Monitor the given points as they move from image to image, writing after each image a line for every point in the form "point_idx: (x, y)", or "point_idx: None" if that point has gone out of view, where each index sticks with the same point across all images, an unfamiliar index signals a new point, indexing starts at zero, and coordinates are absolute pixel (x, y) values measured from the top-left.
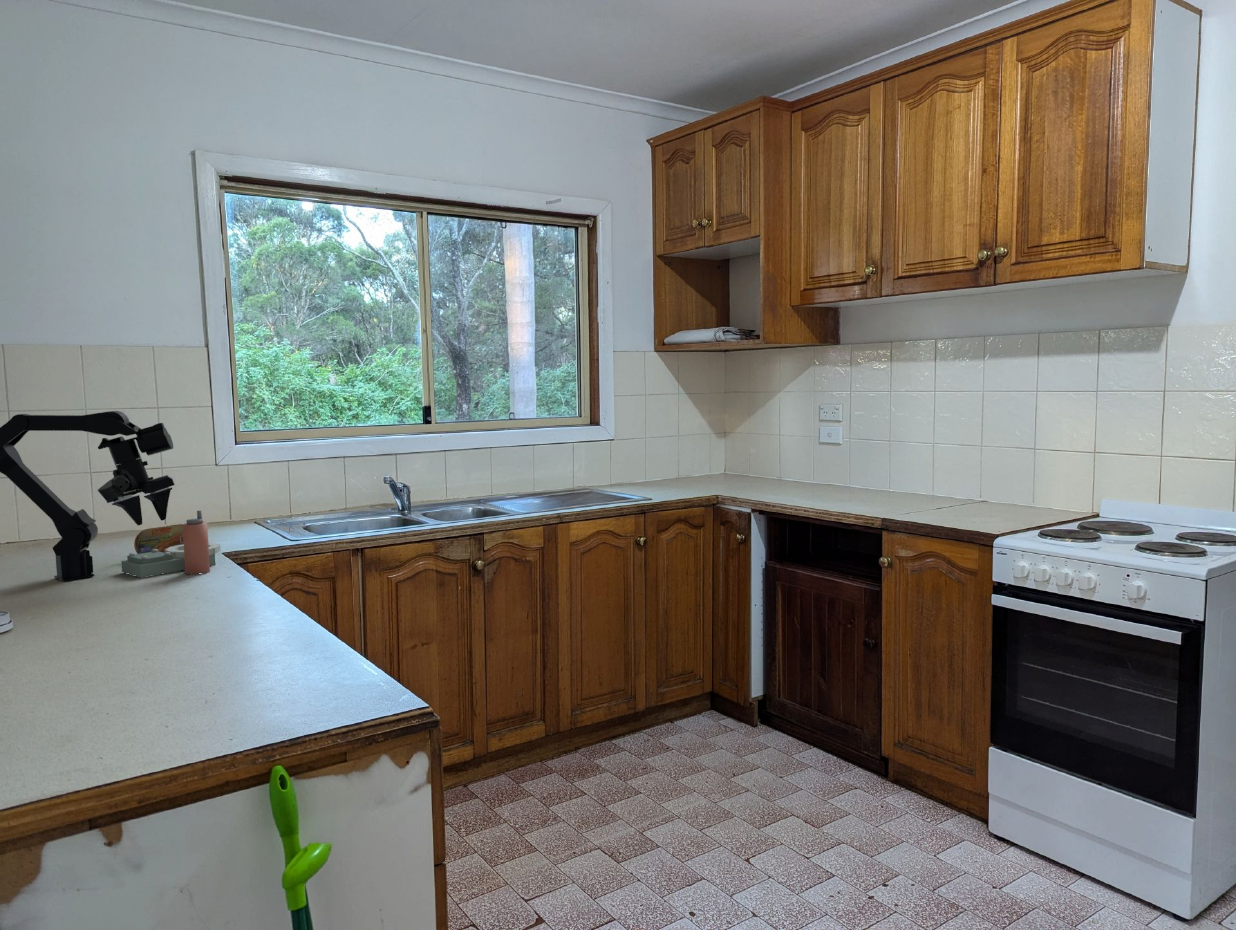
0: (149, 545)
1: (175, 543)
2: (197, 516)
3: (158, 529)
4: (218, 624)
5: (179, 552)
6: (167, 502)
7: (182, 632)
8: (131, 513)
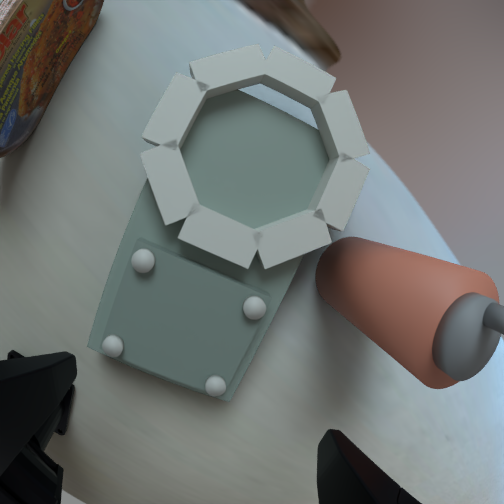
0: (6, 112)
1: (60, 26)
2: (496, 330)
3: None
4: (485, 472)
5: (280, 262)
6: (409, 500)
7: (463, 497)
8: (27, 439)
